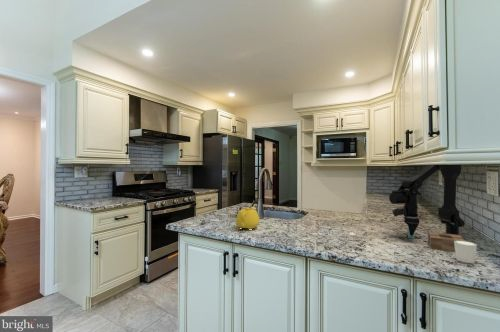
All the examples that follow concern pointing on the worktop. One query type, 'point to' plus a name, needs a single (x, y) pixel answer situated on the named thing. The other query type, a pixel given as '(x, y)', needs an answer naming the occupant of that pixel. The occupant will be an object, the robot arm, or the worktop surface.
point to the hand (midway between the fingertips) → (411, 233)
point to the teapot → (247, 218)
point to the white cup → (465, 251)
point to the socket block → (443, 241)
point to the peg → (411, 235)
